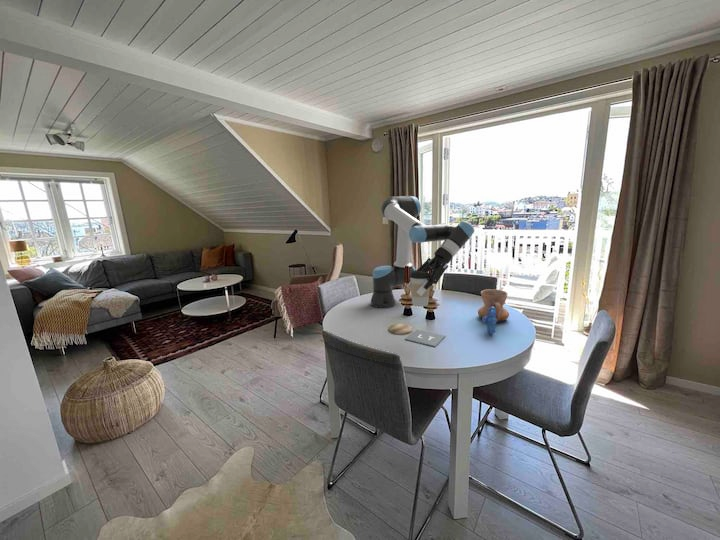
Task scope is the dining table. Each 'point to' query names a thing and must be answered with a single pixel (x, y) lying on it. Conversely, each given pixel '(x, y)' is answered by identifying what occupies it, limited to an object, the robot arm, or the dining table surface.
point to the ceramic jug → (494, 303)
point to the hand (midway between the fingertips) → (413, 291)
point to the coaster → (400, 329)
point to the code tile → (425, 338)
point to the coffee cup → (416, 282)
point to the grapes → (490, 320)
